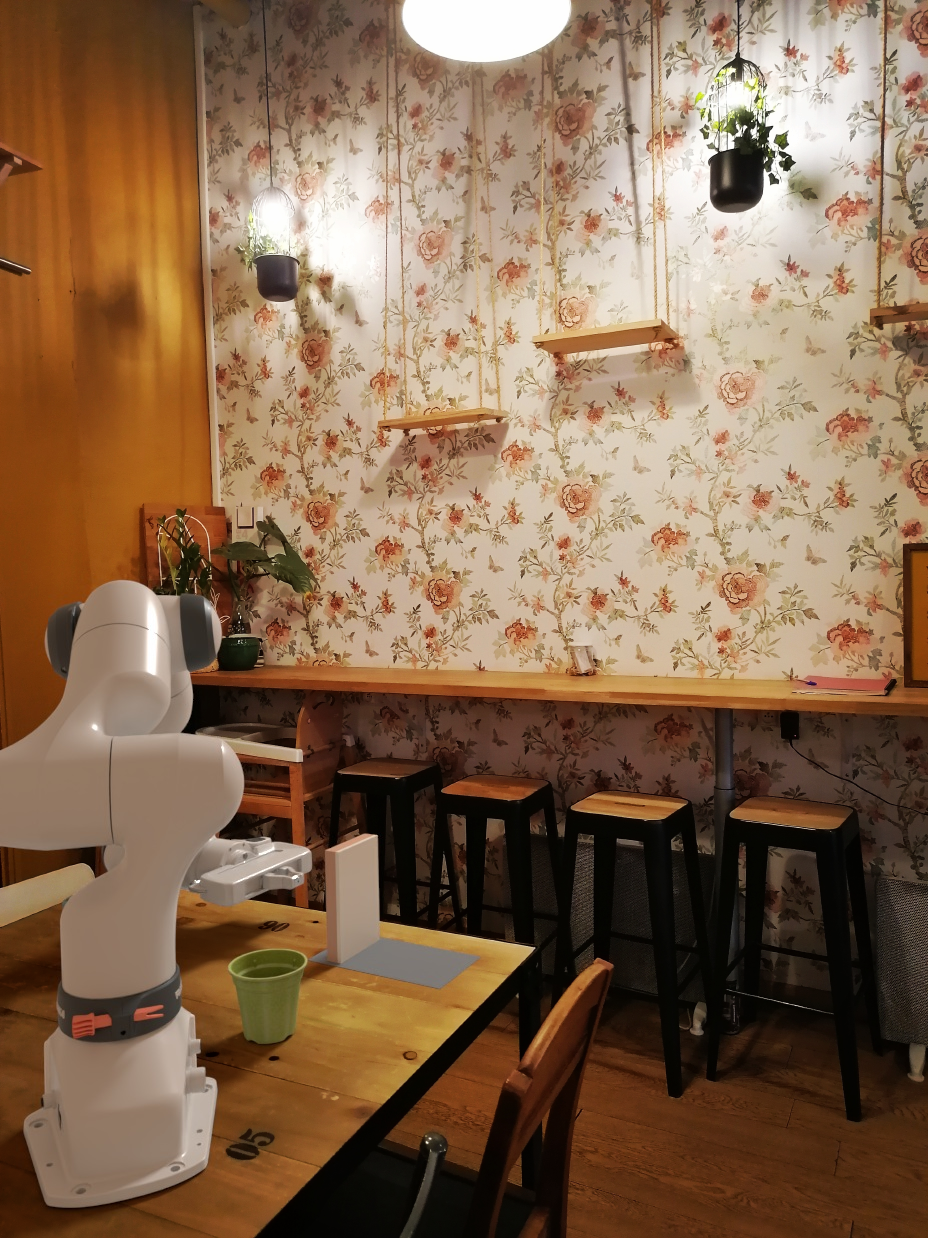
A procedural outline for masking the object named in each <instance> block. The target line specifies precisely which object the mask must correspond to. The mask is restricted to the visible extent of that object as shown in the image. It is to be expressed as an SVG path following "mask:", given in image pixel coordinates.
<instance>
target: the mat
mask: <svg viewBox="0 0 928 1238" xmlns="http://www.w3.org/2000/svg"><path fill="white" fill-rule="evenodd" d="M480 958H482V956H479V955H474V954H470V953H465V952H460V951H456V950H449V949H444V948H439V947H434V946H429V945H422V944H419V943H413V942H408V941H403V940H399V939H393V938H387V937H382V936H380V940H379V941H377V942H375V943H374V944H372V945H370V946H369V947H367V948H366V949H364V950H362V951H361V952H359V953H358V954H356V955H354V956H353V957H351V958H349V959H348V960H346V961H345V962H343V963H341V964H340V963H335V962H331V961H327V948H326V949H323V950H322V951H321V952H318V953H317V954H315V955H314V956H311V957H310V958H307V962H315V963H318V964H323V965H326V966H327V965H328V966H332V967H337V968H341V969H346V970H350V971H353V972H360V973H363V974H368V975H373V976H377V977H378V976H379V977H383V978H387V979H391V980H395V981H396V980H397V981H400V982H405V983H410V984H414V985H420V986H423V987H428V988H433V989H436V990H441V989H443V988H444V987H445V986H447V984H450V982H452V981H453V980H454V979H456V977H458V976H459V975H461V974H462V972H464V971H465V970H467V969H468V968H469V967H470V966H473V964H474V963H476V962H477V961H478V960H480ZM475 961H476V962H475Z"/></svg>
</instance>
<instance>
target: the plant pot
mask: <svg viewBox="0 0 928 1238" xmlns="http://www.w3.org/2000/svg"><path fill="white" fill-rule="evenodd" d="M307 965H308V957H307V955H305V954H304V953H302V952H301V951H298V950H293V949H289V948H268V949H259V950H254V951H250V952H247V953H244V954H241V955H240V956H237V957H235V958H234V959H233V960H232V961H230V962H229V964H228V966H227V972H228V973H229V975H230V976H231V978H232V983H233V985H234V987H235V991H236V996H237V1002H238V1006H239V1012H240V1013H239V1014H240V1018H241V1019H240V1020H241V1025H242V1031H243V1037H244V1038H245V1040H247V1041H253V1042H255V1043H257V1044H258V1045H259V1044H260V1045H269V1044H274V1043H279V1042H282V1041H284V1040H286V1038H287V1037H288V1036H293V1034H294V1033H295V1031H296V1025H297V1018H298V1017H297V1016H298V1008H299V1007H298V1006H299V999H300V989H301V980H302V978H303V976H304V970H305V968H306V967H307Z"/></svg>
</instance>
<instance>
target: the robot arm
mask: <svg viewBox="0 0 928 1238" xmlns="http://www.w3.org/2000/svg"><path fill="white" fill-rule="evenodd" d="M86 598H87V599H85V602H84V603H83V602H82V601H75V602H71V603H68V604H65V605H63V606H60V607H58V608H56V610H55V611H54V612H53V613H52V614H51V615H50V616H49V617H48V621H47V626H46V630H45V634H44V648H45V653H46V655H47V658H48V661H49V662H50V665H51V667H52V669H53V671H54V673H55V674H57V675H58V676H59V677H61V678H62V679H64V680H65V681H66V683H65V688H64V692H63V696H62V698H61V700H60V702H59V703H58V705H56V706H57V707H56V708H55V710H53V711H52V712H51V714H50V715H49V716H48V717H47V719H45V720H44V721H43V722H42V723H41V724H40V725H39V726H38V727H37V728H35V729H34V730H33V731H31V732H30V733H29V734H27V735H26V736H25V737H23V738H22V739H19V740H18V741H16V742H15V743H13V744H11V745H9V746H7V747H5V748H3V749H1V750H0V847H6V848H15V849H21V850H22V849H23V850H34V851H55V850H56V851H57V850H59V851H60V850H67V849H81V848H91V847H101V859H102V863H103V867H104V869H105V870H106V872H105V873H102V874H101V875H99V876H97V877H95V878H93V879H92V880H90V881H89V882H87V883H85V884H84V885H83V886H81V887H80V888H79V889H77V890H76V891H75V892H74V893H73V894H71V895H72V896H71V895H70V896H71V897H70V896H69V897H70V899H69V900H68V901H67V903H66V904H65V906H64V908H63V907H62V911H61V914H60V918H59V926H60V927H59V928H60V930H59V931H60V932H59V933H60V959H61V962H60V963H61V966H60V967H61V968H60V969H61V980H60V982H59V984H58V986H57V996H56V1011H57V1025H58V1026H57V1028H56V1029H55V1031H54V1032H53V1033H52V1034H51V1035H50V1036H49V1037H48V1038H47V1039H46V1040H45V1041H44V1044H43V1057H44V1058H43V1059H44V1060H43V1062H44V1063H43V1064H44V1066H43V1068H44V1071H43V1072H44V1094H42V1095H41V1098H40V1105H41V1108H39V1109H36V1110H35V1111H34V1112H32V1113H30V1114H28V1115H27V1116H26V1117H25V1119H24V1120H23V1121H24V1122H23V1130H22V1131H23V1135H24V1138H25V1141H26V1145H27V1147H28V1151H29V1154H30V1158H31V1161H32V1165H33V1167H34V1171H35V1173H36V1177H37V1180H38V1185H39V1187H40V1191H41V1194H42V1198H43V1200H44V1202H45V1204H46V1205H47V1206H49V1207H53V1208H54V1207H55V1208H68V1209H69V1208H72V1209H73V1208H74V1209H75V1208H86V1207H94V1206H100V1205H106V1204H111V1203H116V1202H120V1201H125V1200H129V1199H134V1198H137V1197H141V1196H145V1195H148V1194H152V1193H155V1192H158V1191H162V1190H164V1189H166V1188H169V1187H172V1186H175V1185H177V1184H179V1183H182V1182H184V1181H186V1180H188V1179H190V1178H192V1177H193V1176H195V1175H197V1174H199V1173H200V1172H202V1171H203V1170H204V1169H206V1167H207V1165H208V1162H209V1157H210V1156H209V1155H210V1150H211V1144H212V1143H211V1141H212V1134H213V1126H214V1121H215V1120H214V1119H215V1114H216V1113H215V1112H216V1107H217V1098H218V1090H219V1089H218V1084H217V1080H216V1079H215V1078H213V1077H210V1076H206V1073H207V1071H206V1067H205V1066H198V1067H197V1054H201V1050H202V1043H201V1038H196V1017H195V1014H192V1013H191V1012H190V1011H188V1010H187V1009H186V1008H184V1007H183V1006H182V990H183V984H182V983H183V982H182V977H181V971H180V966H179V964H177V962H176V960H177V959H176V930H177V928H176V927H177V911H178V902H179V896H180V891H181V890H185V891H188V892H189V893H193V894H197V895H199V896H200V897H199V898H200V899H201V900H203V901H204V902H207V903H209V904H212V905H217V906H218V907H219V906H220V907H227V908H228V907H234V906H236V905H239V904H241V903H242V902H245V901H247V900H250V899H251V898H254V897H256V896H259V895H261V894H263V893H265V892H267V891H270V890H279V889H280V890H281V889H286V890H292V889H295V888H297V887H298V886H301V885H303V884H304V883H305V875H306V874H308V873H309V872H311V870H312V868H313V860H312V851H311V850H310V849H309V848H308V847H305V846H302V845H298V844H293V843H289V842H284V841H283V842H282V841H272V839H271V837H267V836H259V837H253V838H247V839H235V838H234V839H231V840H230V839H225V838H218V837H216V834H218V833H219V832H220V831H222V830H223V829H224V828H226V826H227V825H228V824H229V823H230V822H231V821H232V819H233V818H234V816H235V815H236V813H237V812H238V810H239V808H240V806H241V803H242V799H243V796H244V790H245V776H244V771H243V767H242V766H243V765H242V764H241V761H240V760H239V757H238V756H237V753H236V752H235V751H234V749H233V748H232V747H231V745H229V744H228V743H227V741H226V740H224V739H223V738H221V737H220V738H219V737H214V736H207V735H201V734H191V733H184V732H182V731H183V730H184V729H185V728H186V727H187V724H188V723H189V720H190V718H191V715H192V711H193V704H194V703H193V701H194V700H193V699H194V693H193V691H194V690H193V684H192V679H191V673H193V672H197V671H200V670H202V669H205V668H208V667H210V666H211V665H212V664H213V662H214V661H215V660H217V658H218V652H219V651H220V647H221V643H222V635H223V631H222V624H221V620H220V617H219V615H218V613H217V612H216V610H215V608H214V607H213V604H212V602H211V601H209V599H208V598H206V596H204V595H200V594H193V593H180V595H171V594H170V595H167V594H166V595H163V594H161V595H158V594H156V593H155V591H153V590H152V589H150V588H149V587H148V586H146V585H144V584H142V583H140V582H138V581H133V580H130V579H129V580H127V579H117V580H113V581H108V582H106V583H103V584H102V585H99V586H98V587H96V588H95V589H94V590H93V591H92V592H91V593H90V594H89V595H88V597H86Z"/></svg>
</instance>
